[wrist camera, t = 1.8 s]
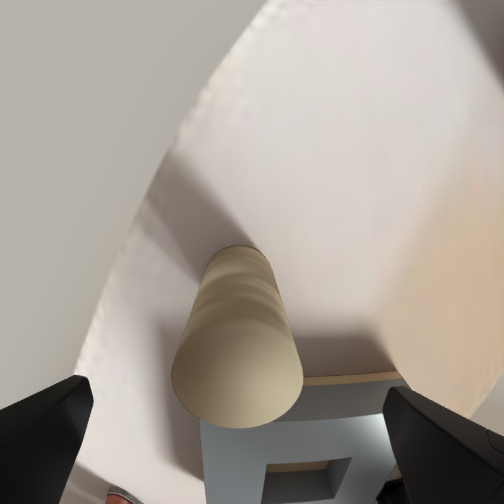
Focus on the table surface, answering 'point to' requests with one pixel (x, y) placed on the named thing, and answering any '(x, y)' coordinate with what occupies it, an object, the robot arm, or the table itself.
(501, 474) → the robot arm
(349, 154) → the table surface
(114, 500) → the lighter
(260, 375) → the wooden pin
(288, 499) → the grey square-holed block
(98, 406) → the table surface
